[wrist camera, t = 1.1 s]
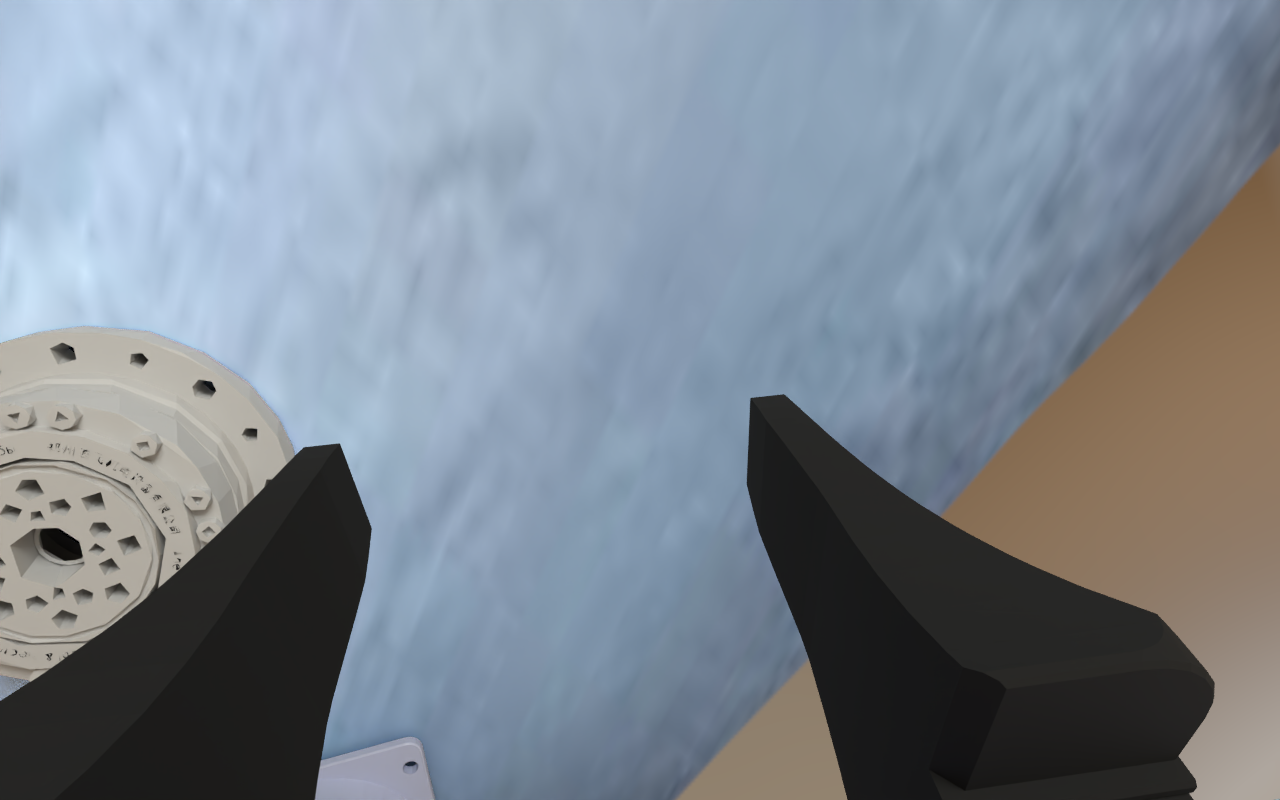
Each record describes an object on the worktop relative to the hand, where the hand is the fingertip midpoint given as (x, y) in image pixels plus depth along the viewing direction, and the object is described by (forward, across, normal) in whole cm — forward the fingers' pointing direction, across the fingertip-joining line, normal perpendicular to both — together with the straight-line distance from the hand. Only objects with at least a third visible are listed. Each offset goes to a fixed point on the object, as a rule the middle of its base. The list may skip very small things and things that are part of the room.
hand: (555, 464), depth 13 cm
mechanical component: (+8, +14, +6) cm, 17 cm away
